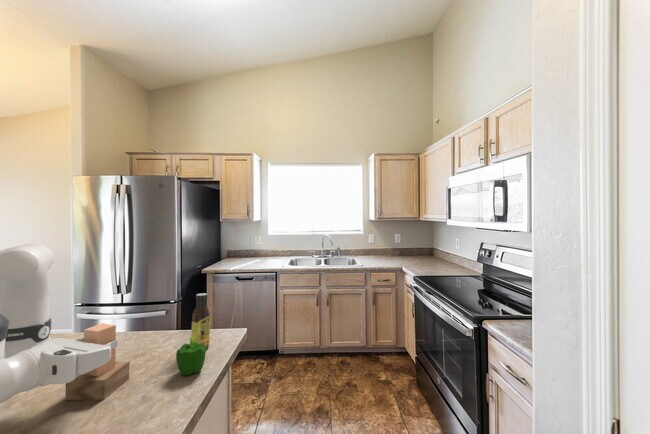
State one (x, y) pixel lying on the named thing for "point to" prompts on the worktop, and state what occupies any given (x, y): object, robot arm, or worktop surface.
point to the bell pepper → (190, 357)
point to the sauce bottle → (201, 321)
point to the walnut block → (97, 383)
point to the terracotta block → (101, 336)
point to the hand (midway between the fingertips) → (102, 341)
